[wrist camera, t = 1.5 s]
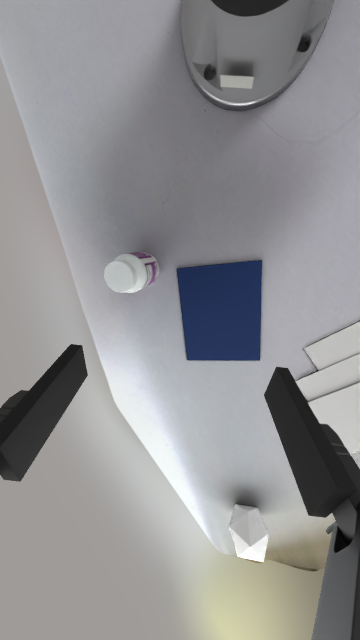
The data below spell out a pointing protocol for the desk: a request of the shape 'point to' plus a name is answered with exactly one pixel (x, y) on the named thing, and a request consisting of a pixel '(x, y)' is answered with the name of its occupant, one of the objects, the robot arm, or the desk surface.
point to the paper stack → (336, 384)
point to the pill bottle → (131, 272)
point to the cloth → (221, 310)
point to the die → (249, 532)
